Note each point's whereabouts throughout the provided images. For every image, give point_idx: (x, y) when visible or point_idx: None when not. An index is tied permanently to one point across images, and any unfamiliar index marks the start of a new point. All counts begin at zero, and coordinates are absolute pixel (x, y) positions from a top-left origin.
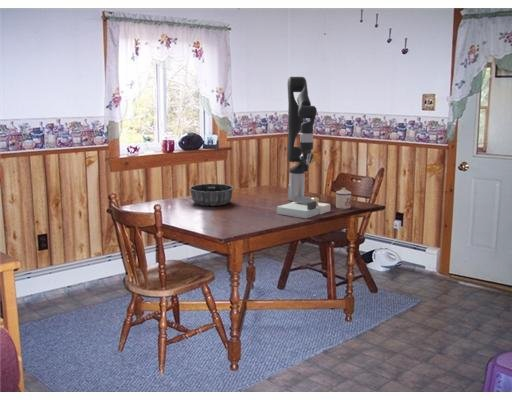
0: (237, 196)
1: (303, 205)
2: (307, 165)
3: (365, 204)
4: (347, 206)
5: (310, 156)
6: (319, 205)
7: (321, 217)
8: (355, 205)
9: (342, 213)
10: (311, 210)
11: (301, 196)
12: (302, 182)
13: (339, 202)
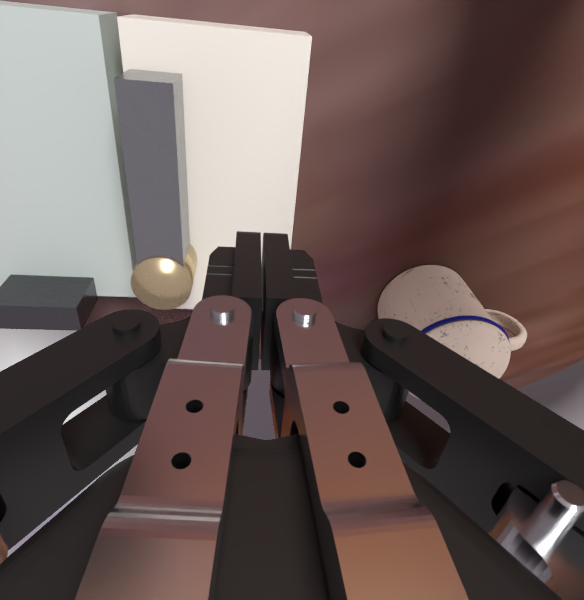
0: None
1: (107, 186)
2: (253, 362)
3: (548, 355)
4: None
5: (502, 532)
6: (195, 279)
7: (88, 318)
8: (504, 329)
9: (260, 356)
10: None
11: (160, 145)
12: None
13: None
